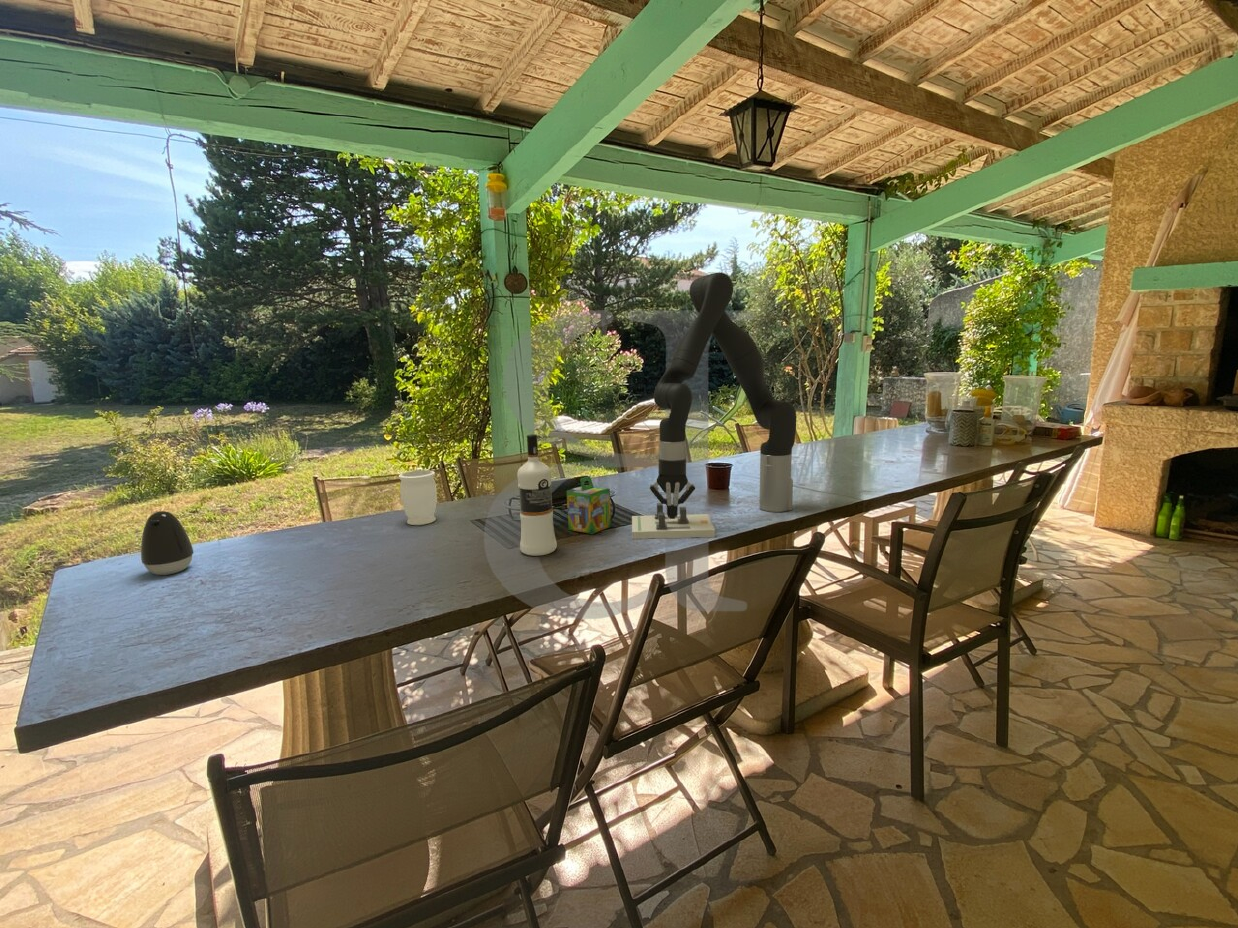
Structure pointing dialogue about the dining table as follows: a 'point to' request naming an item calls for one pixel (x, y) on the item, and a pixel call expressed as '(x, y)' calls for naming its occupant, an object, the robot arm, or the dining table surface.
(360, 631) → the dining table surface
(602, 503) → the chalk box
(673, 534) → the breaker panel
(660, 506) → the handle
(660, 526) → the handle
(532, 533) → the vodka
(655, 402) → the robot arm
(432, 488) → the jar
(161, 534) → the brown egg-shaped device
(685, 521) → the handle
